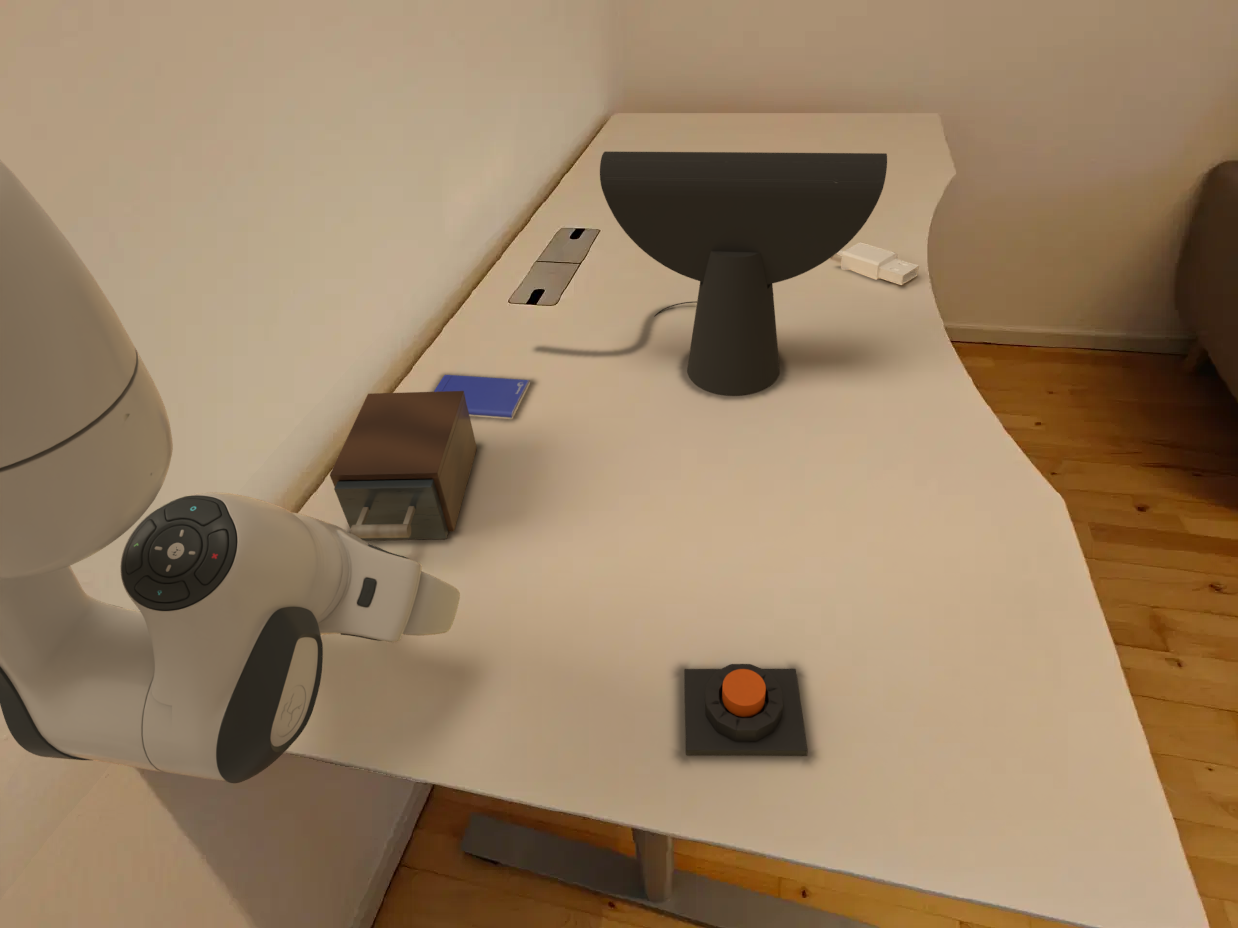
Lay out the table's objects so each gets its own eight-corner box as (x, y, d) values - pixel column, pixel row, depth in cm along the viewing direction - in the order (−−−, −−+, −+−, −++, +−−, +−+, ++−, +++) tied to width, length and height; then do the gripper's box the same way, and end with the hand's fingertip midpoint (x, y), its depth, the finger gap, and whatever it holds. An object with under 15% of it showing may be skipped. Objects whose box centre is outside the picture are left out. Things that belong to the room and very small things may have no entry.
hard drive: (529, 378, 110) (445, 372, 113) (511, 414, 104) (422, 407, 107) (531, 387, 111) (447, 382, 114) (513, 424, 105) (425, 417, 108)
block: (805, 761, 68) (809, 738, 65) (686, 760, 68) (685, 738, 66) (794, 679, 74) (797, 656, 71) (684, 679, 74) (683, 656, 72)
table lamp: (572, 452, 100) (541, 222, 81) (536, 337, 121) (505, 133, 102) (870, 391, 106) (909, 162, 86) (787, 291, 127) (803, 89, 107)
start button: (766, 717, 68) (767, 705, 66) (723, 717, 68) (723, 705, 67) (762, 680, 70) (763, 668, 69) (721, 680, 71) (721, 668, 69)
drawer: (438, 567, 86) (422, 514, 81) (343, 568, 87) (321, 516, 82) (469, 459, 99) (456, 408, 94) (386, 461, 100) (369, 411, 95)
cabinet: (455, 536, 91) (437, 472, 84) (354, 538, 91) (329, 475, 85) (478, 452, 102) (463, 390, 95) (388, 455, 102) (367, 393, 96)
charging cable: (760, 228, 146) (761, 210, 144) (918, 279, 126) (921, 259, 124) (741, 237, 144) (741, 219, 142) (899, 291, 124) (901, 271, 122)
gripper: (170, 583, 63) (262, 594, 77) (412, 648, 60) (464, 648, 74) (197, 506, 65) (283, 530, 78) (436, 566, 62) (483, 581, 75)
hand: (373, 588), depth 76 cm, fingers closed
